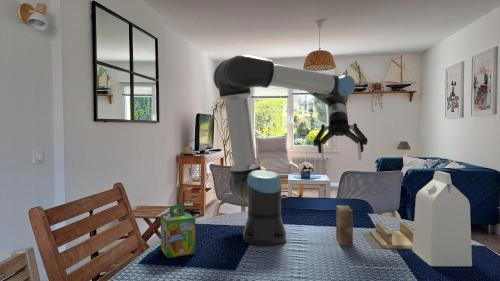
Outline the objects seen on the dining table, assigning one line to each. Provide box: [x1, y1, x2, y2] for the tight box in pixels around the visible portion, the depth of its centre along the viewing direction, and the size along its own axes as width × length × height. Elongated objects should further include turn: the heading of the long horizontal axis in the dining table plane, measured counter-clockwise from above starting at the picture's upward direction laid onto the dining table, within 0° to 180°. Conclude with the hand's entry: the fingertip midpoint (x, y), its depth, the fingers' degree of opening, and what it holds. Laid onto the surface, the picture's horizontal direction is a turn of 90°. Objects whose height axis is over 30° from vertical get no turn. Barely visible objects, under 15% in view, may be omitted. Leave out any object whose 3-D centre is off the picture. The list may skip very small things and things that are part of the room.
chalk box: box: [160, 204, 196, 259], centre depth 113 cm, size 9×9×15 cm
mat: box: [360, 232, 410, 250], centre depth 122 cm, size 20×16×1 cm
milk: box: [411, 170, 473, 267], centre depth 105 cm, size 12×12×26 cm
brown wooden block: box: [335, 205, 354, 248], centre depth 120 cm, size 4×8×12 cm, turn 176°
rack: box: [369, 221, 414, 250], centre depth 122 cm, size 14×15×4 cm
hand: (341, 158), depth 133 cm, fingers open, 13 cm apart
